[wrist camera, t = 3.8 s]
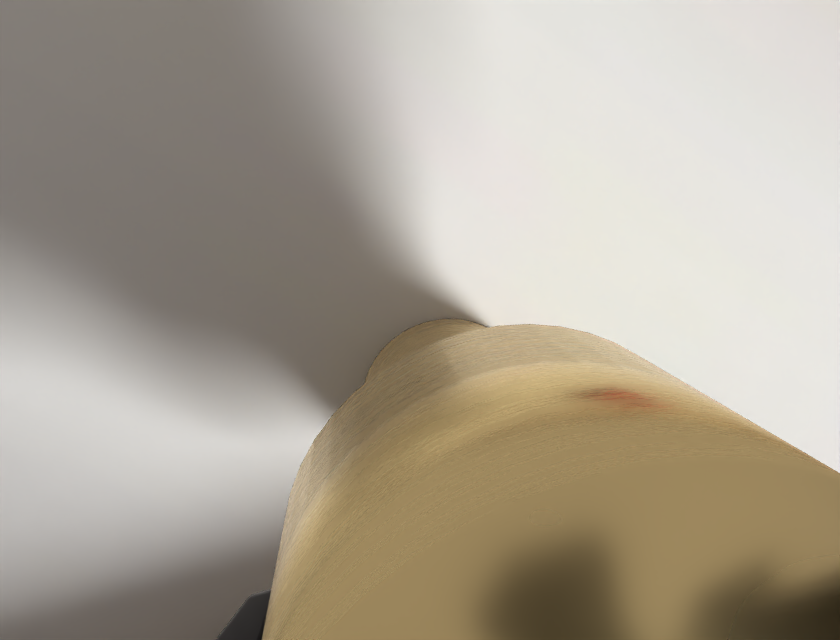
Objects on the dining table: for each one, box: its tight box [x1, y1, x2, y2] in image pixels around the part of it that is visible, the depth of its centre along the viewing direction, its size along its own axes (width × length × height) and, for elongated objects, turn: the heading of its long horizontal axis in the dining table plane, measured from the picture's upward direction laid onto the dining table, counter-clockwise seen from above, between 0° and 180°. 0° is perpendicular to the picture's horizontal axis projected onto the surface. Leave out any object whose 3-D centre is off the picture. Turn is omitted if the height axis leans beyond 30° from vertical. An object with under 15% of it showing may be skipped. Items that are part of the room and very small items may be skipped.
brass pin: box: [262, 319, 840, 640], centre depth 8 cm, size 6×6×8 cm
